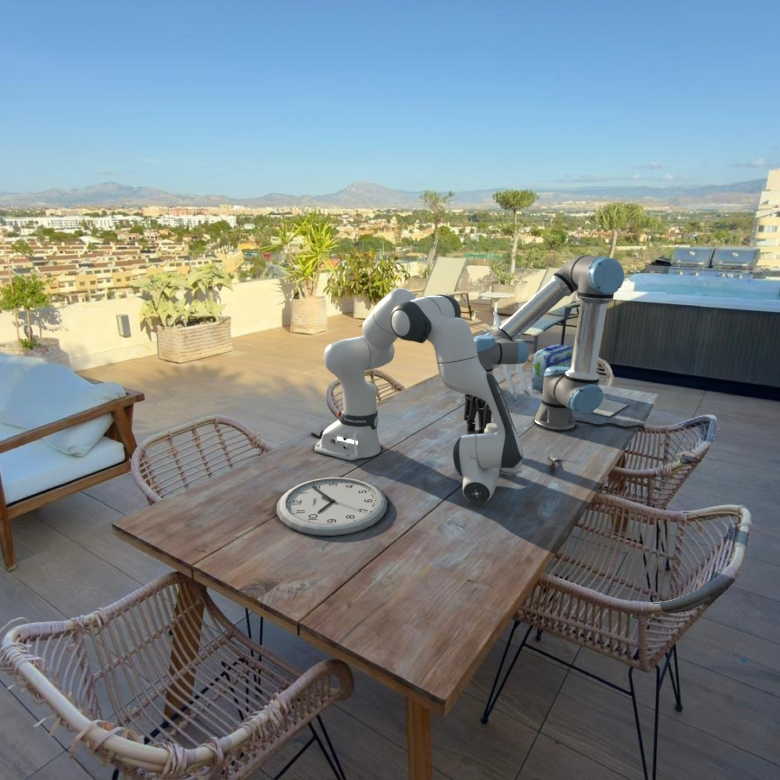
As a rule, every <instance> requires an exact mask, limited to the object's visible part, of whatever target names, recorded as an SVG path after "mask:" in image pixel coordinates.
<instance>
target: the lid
mask: <svg viewBox="0 0 780 780" xmlns="http://www.w3.org/2000/svg"><path fill="white" fill-rule="evenodd" d="M478 430H479V429H475V430H471V431H469V432H468V435H471V434H477V431H478Z"/></svg>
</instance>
